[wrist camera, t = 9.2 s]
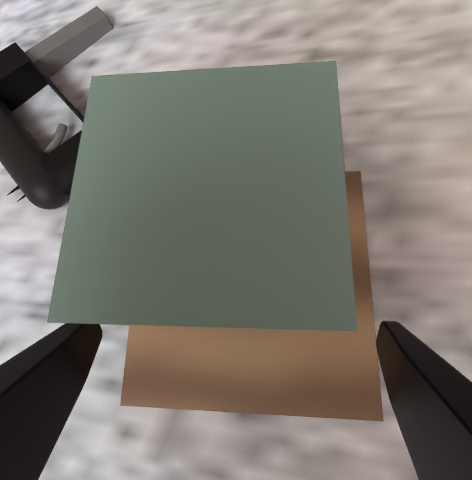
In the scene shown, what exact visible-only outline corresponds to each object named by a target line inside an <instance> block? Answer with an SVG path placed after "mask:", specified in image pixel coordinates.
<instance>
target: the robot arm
mask: <svg viewBox="0 0 472 480" xmlns="http://www.w3.org/2000/svg"><path fill="white" fill-rule="evenodd" d="M101 339H102V329H101V326H100V324H81V323H66V324H64V325H62V326H61V327H59V328H58V329H56V330H55V331H53V332H51V333H50V334H48V335H47V336H45V337H44V338H42V339H41V340H39V341H37V342H36V343H34V344H33V345H31V346H30V347H28V348H26V349H25V350H23V351H22V352H20V353H19V354H17V355H16V356H14V357H12V358H11V359H9V360H8V361H6V362H5V363H3V364H2V365H0V480H38V479H39V477H40V475H41V473H42V471H43V469H44V467H45V465H46V463H47V461H48V458H49V456H50V454H51V452H52V450H53V448H54V446H55V444H56V442H57V440H58V438H59V436H60V434H61V432H62V430H63V428H64V426H65V423H66V421H67V419H68V417H69V415H70V413H71V411H72V409H73V407H74V405H75V403H76V401H77V399H78V397H79V395H80V393H81V391H82V388H83V386H84V384H85V382H86V379H87V377H88V374H89V371H90V369H91V366H92V363H93V361H94V358H95V355H96V353H97V350H98V347H99V345H100V342H101ZM376 348H377V352H378V356H379V360H380V364H381V368H382V372H383V376H384V380H385V384H386V388H387V392H388V395H389V399H390V402H391V405H392V408H393V411H394V413H395V416H396V419H397V421H398V424H399V427H400V430H401V432H402V435H403V438H404V440H405V443H406V446H407V449H408V451H409V454H410V457H411V459H412V462H413V465H414V468H415V470H416V473H417V476H418V479H419V480H472V382H471V381H470V380H469V379H467V378H466V377H465V376H464V375H462V374H461V373H460V372H459V371H458V370H456V369H455V368H454V367H453V366H451V365H450V364H449V363H448V362H446V361H445V360H444V359H443V358H442V357H440V356H439V355H438V354H437V353H435V352H434V351H433V350H432V349H431V348H429V347H428V346H427V345H426V344H424V343H423V342H422V341H421V340H419V339H418V338H417V337H416V336H415V335H413V334H412V333H411V332H410V331H408V330H407V329H406V328H405V327H404V326H402V325H401V324H400V323H398V322H396V321H382V322H381V324H380V327H379V331H378V335H377V339H376Z"/></svg>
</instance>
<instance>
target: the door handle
mask: <svg viewBox="0 0 472 480" xmlns="http://www.w3.org/2000/svg"><path fill="white" fill-rule="evenodd" d="M112 29H113V28H112V25H111V23H110V21H109V19H108V17H107V15H106V14H105V13H104V12H103V11H102V10H100V9H99V8H98V7H95V8H94V9H92V10H90V11H89V12H87V13H86V14H84V15H83V16H81V17H79V18H78V19H76V20H75V21H73V22H72V23H70V24H68V25H67V26H65V27H64V28H62V29H61V30H59V31H57V32H56V33H54V34H53V35H51V36H50V37H48V38H46V39H45V40H43V41H42V42H40V43H39V44H37V45H35V46H34V47H32V48H31V49H29V50H28V51H26V52H24V51H23V50H22V49H21V48H20V47H19V46H18V45H17V44H16V43H13V44H12V45H10V46H8V47H7V48H5V49H4V50H2V51H0V162H1V163H2V165H3V166H4V167H5V169H6V170H7V171H8V173H9V174H10V175H11V177H12V178H13V179H14V181H15V182H16V183H17V185H18V186H17V187H16V188H14V189H13V190H12V191H11V192H10V193H9V194H11V193H12V192H14V191H16V190H18V189H19V188H20V189H21V190H22V191H23V193H24V194H25V195H24V196H23V197H21V198H20V199H19V200H21V199H23V198H24V197H27V198H28V199H29V201H30V202H31V203H33V204H34V205H36V206H37V207H40V208H43V209H56V208H59V207H61V206H63V205H64V204H65V203H66V202H67V201H68V199H69V197H70V194H71V188H72V183H73V177H74V172H75V166H76V161H77V155H78V150H79V144H80V139H81V133H82V130H81V131H80V132H78V133H77V134H76V135H74V136H73V137H71V138H70V139H69V140H67V141H66V142H64V143H63V144H62V145H60V144H61V142H62V140H63V138H64V136H65V134H66V132H67V129H68V127H67V126H66V125H64V124H59V125H58V128H57V130H56V133H55V135H54V137H53V138H52V140H51V141H50V143H49V144H48V146H47V147H46V148H45V149H44V150H42V149H41V148H40V147H39V145H38V144H37V143H36V142H35V141H34V139H33V138H32V137H31V136H30V134H29V133H28V132H27V131H26V129H25V128H24V127H23V126H22V125H21V123H20V122H19V121H18V120H17V118H16V117H15V116H14V115H13V114H12V111H14V110H15V109H16V108H18V107H19V106H20V105H22V104H23V103H24V102H25V101H27V100H28V99H29V98H31V97H32V96H33V95H35V94H36V93H37V92H38V91H40V90H41V89H42V88H44V87H45V86H46V85H48V84H49V86H50V87H51V88H52V89H53V90H54V91H55V92H56V93H57V94H58V95H59V97H60V98H61V99H62V100H63V101H64V102H65V103H66V104H67V105H68V106H69V108H70V109H71V110H72V111H73V112H74V113H75V114H76V115H77V116H78V117H79V119H80V120H81V121H82V122H83V123H84V117H83V116H82V115H81V114H80V113H79V111H78V110H77V109H76V108H75V107H74V106H73V105H72V104H71V103H70V102H69V101H68V100H67V98H66V97H65V96H64V95H63V94H62V93H61V92H60V91H59V90H58V89H57V88H56V86H55V85H54V84H53V83H52V82H51V81H50V80H49V79H48V78H47V77H49V76H50V75H52V74H53V73H55V72H56V71H58V70H59V69H61V68H62V67H64V66H65V65H66V64H68V63H69V62H70V61H71V60H73V59H74V58H75V57H77V56H78V55H79V54H81V53H82V52H83V51H84V50H86V49H87V48H88V47H90V46H91V45H92V44H94V43H95V42H96V41H98V40H99V39H100V38H101V37H103V36H104V35H105V34H107V33H108V32H109V31H111V30H112ZM59 145H60V146H59ZM9 194H8V195H9ZM19 200H18V201H19ZM18 201H17V202H18Z"/></svg>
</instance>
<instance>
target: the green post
mask: <svg viewBox="0 0 472 480" xmlns="http://www.w3.org/2000/svg"><path fill="white" fill-rule="evenodd" d="M47 323H81V324H116V325H151V326H186V327H221V328H255V329H290V330H325V331H357V321H356V308H355V295H354V283H353V270H352V257H351V245H350V232H349V219H348V207H347V194H346V181H345V169H344V156H343V143H342V131H341V118H340V105H339V93H338V80H337V67H336V61H329V62H313V63H297V64H281V65H264V66H248V67H232V68H216V69H200V70H183V71H167V72H151V73H135V74H118V75H102V76H92V79H91V84H90V90H89V95H88V101H87V106H86V112H85V117H84V123H83V128H82V133H81V139H80V144H79V150H78V155H77V161H76V166H75V172H74V177H73V183H72V188H71V194H70V199H69V205H68V210H67V216H66V221H65V227H64V232H63V238H62V243H61V249H60V254H59V260H58V265H57V271H56V276H55V281H54V287H53V292H52V298H51V303H50V309H49V314H48V320H47Z"/></svg>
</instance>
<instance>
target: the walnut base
mask: <svg viewBox="0 0 472 480" xmlns="http://www.w3.org/2000/svg"><path fill="white" fill-rule="evenodd" d="M345 181H346V194H347V207H348V219H349V232H350V245H351V257H352V270H353V283H354V295H355V308H356V321H357V331H325V330H290V329H255V328H221V327H186V326H151V325H129V334H128V342H127V351H126V360H125V369H124V377H123V386H122V395H121V404H120V405H121V406H138V407H155V408H171V409H188V410H205V411H221V412H238V413H255V414H271V415H288V416H305V417H321V418H338V419H355V420H372V421H383V412H382V401H381V391H380V380H379V369H378V358H377V348H376V336H375V325H374V315H373V304H372V293H371V282H370V271H369V260H368V250H367V239H366V228H365V217H364V206H363V195H362V184H361V174H360V171H357V172H345Z"/></svg>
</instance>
